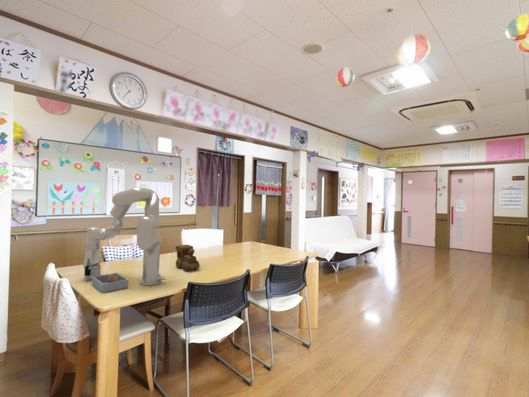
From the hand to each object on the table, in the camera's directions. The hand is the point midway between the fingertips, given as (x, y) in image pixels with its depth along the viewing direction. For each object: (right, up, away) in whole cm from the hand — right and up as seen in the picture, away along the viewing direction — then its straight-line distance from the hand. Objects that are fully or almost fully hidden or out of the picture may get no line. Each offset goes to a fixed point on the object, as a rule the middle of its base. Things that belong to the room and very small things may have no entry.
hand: (91, 273), depth 176 cm
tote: (+19, -4, -13) cm, 23 cm away
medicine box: (0, -4, 0) cm, 4 cm away
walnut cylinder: (+22, -4, -16) cm, 28 cm away
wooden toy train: (+51, -6, +33) cm, 61 cm away
